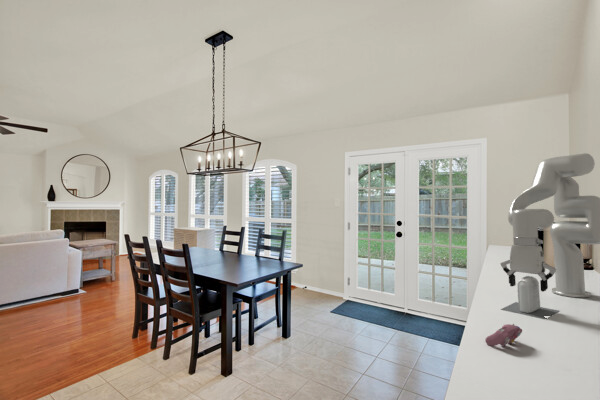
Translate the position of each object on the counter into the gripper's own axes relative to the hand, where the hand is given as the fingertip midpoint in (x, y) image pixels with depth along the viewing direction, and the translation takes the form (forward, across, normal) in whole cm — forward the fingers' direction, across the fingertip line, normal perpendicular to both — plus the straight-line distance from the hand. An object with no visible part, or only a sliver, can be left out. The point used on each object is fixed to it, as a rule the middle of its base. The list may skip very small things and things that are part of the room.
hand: (527, 288), depth 114 cm
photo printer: (+8, 0, -1) cm, 8 cm away
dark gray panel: (+8, 0, -1) cm, 8 cm away
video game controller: (+9, -6, +37) cm, 39 cm away
